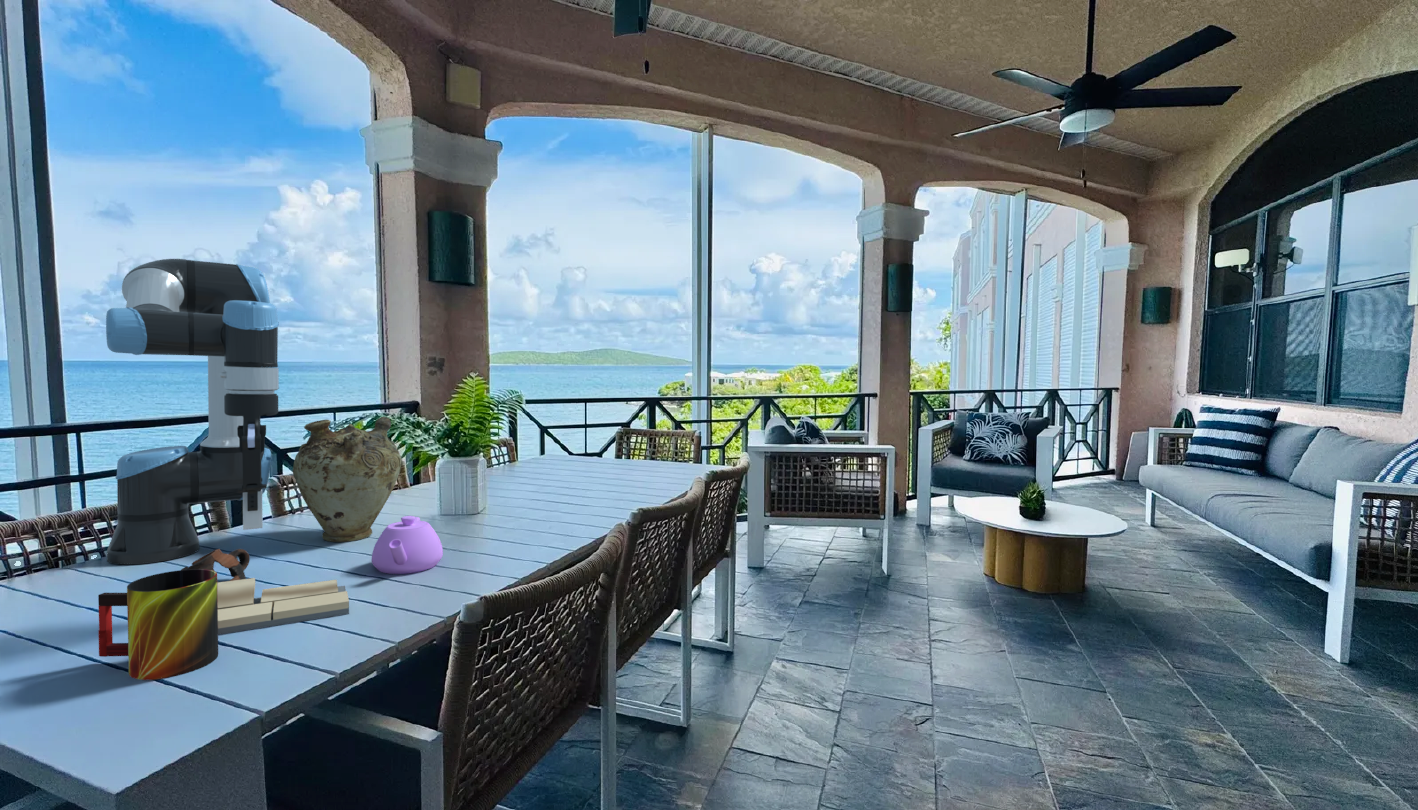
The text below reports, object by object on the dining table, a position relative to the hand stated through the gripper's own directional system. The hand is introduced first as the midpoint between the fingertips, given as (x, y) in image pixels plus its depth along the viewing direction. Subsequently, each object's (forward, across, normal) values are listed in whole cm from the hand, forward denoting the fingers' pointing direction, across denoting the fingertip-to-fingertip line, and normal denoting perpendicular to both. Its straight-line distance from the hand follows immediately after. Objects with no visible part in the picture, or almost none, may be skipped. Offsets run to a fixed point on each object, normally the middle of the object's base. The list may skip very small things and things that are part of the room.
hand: (253, 527), depth 109 cm
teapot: (+14, -11, +26) cm, 32 cm away
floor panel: (+14, +5, +1) cm, 15 cm away
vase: (+15, -44, +18) cm, 50 cm away
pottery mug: (+15, -16, -6) cm, 22 cm away
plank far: (+13, +2, +7) cm, 15 cm away
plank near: (+12, +2, -5) cm, 13 cm away
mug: (+14, +20, -11) cm, 26 cm away
